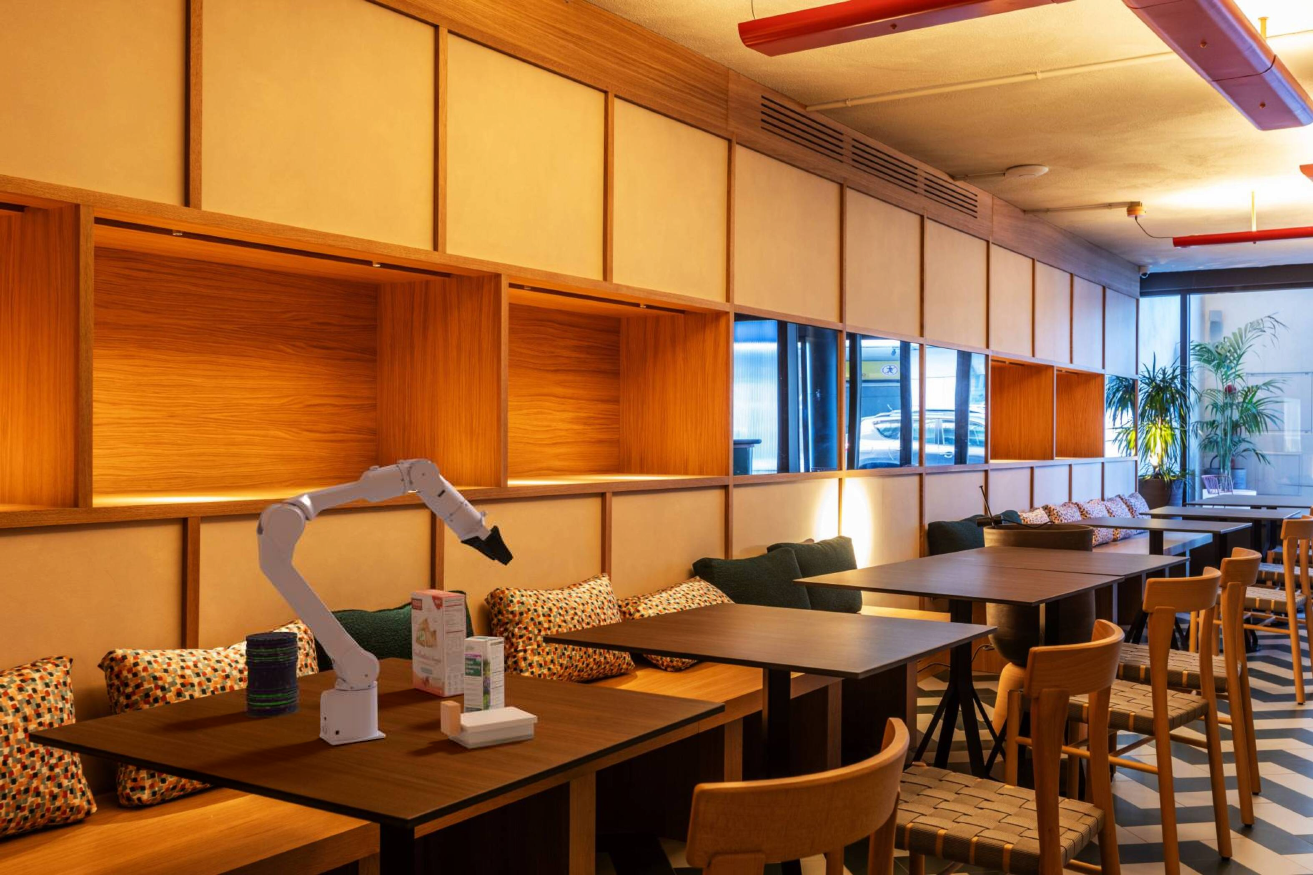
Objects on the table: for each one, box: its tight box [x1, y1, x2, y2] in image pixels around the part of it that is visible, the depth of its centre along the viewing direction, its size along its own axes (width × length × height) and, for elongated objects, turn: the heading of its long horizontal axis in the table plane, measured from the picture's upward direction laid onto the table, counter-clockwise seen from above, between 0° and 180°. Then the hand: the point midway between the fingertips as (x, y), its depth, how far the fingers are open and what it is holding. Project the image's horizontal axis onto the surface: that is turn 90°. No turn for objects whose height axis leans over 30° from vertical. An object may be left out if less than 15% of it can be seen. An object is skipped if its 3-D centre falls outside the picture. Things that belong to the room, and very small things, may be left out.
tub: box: [448, 723, 535, 749], centre depth 198 cm, size 12×9×3 cm
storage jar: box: [244, 631, 300, 718], centre depth 223 cm, size 10×10×15 cm
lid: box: [440, 700, 538, 737], centre depth 198 cm, size 15×10×5 cm
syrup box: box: [463, 635, 505, 713], centre depth 218 cm, size 6×6×14 cm
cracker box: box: [410, 588, 467, 698], centre depth 241 cm, size 14×6×21 cm, turn 39°
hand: (503, 559), depth 214 cm, fingers open, 7 cm apart
